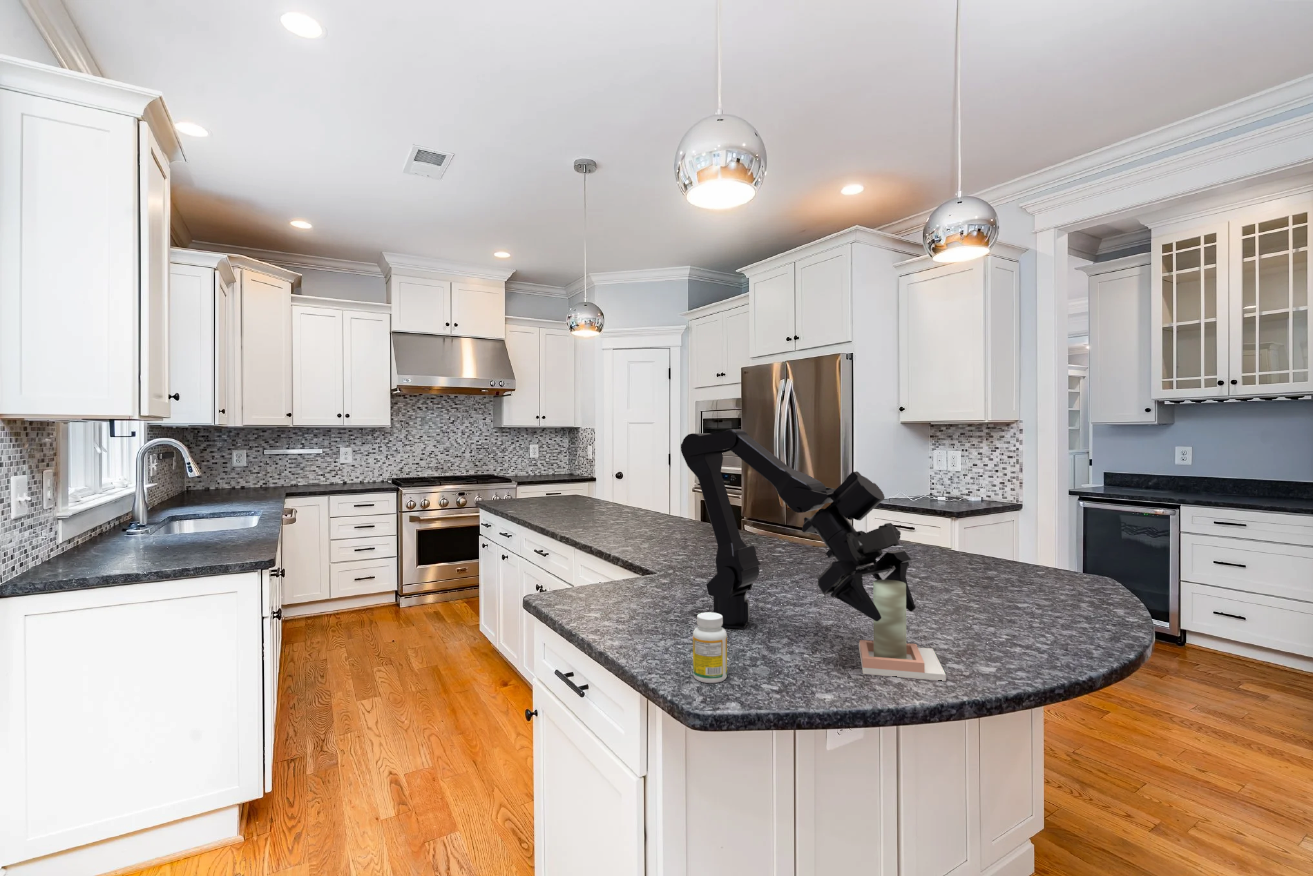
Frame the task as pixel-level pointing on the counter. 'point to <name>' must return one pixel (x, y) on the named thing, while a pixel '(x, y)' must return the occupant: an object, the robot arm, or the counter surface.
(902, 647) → the post
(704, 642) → the supplement bottle
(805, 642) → the counter surface
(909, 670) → the board
